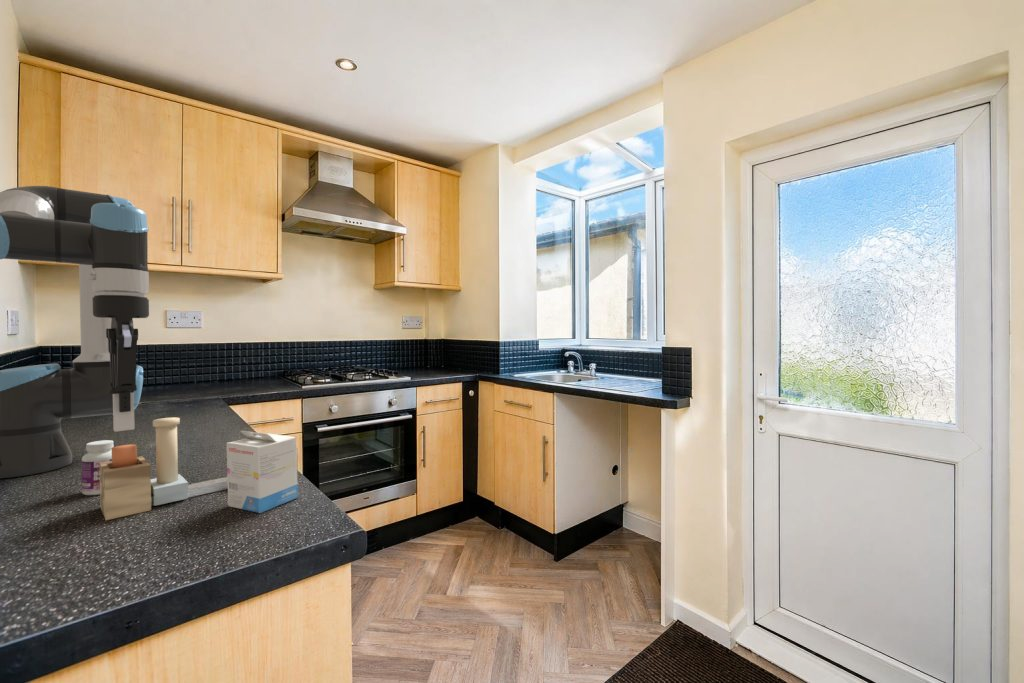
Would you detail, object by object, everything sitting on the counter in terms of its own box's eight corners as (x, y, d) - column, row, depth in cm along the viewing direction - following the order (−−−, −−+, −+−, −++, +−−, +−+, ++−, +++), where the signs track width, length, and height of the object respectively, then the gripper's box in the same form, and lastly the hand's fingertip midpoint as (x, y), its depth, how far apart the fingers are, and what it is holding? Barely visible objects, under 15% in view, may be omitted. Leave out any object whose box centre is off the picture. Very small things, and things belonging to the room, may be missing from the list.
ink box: (299, 498, 87) (298, 427, 87) (258, 514, 80) (257, 437, 79) (268, 491, 91) (267, 423, 90) (226, 506, 83) (225, 432, 83)
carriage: (147, 496, 87) (145, 418, 86) (179, 490, 90) (178, 415, 90) (154, 506, 82) (153, 424, 81) (188, 499, 86) (187, 420, 85)
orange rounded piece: (110, 466, 81) (110, 447, 81) (135, 462, 84) (135, 443, 84) (113, 470, 79) (112, 450, 79) (138, 466, 82) (138, 446, 81)
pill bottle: (96, 497, 87) (95, 446, 87) (74, 495, 88) (73, 444, 88) (125, 487, 93) (124, 439, 92) (104, 485, 94) (103, 438, 93)
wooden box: (100, 507, 82) (99, 462, 82) (143, 498, 87) (142, 456, 86) (105, 520, 77) (104, 472, 77) (151, 510, 81) (150, 464, 81)
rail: (144, 499, 86) (143, 483, 86) (235, 480, 97) (235, 466, 97) (150, 508, 82) (149, 491, 82) (245, 487, 93) (244, 472, 93)
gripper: (88, 296, 82) (91, 427, 83) (96, 291, 73) (99, 439, 74) (142, 298, 88) (144, 421, 88) (155, 294, 79) (158, 432, 79)
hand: (124, 429), depth 81 cm, fingers closed
